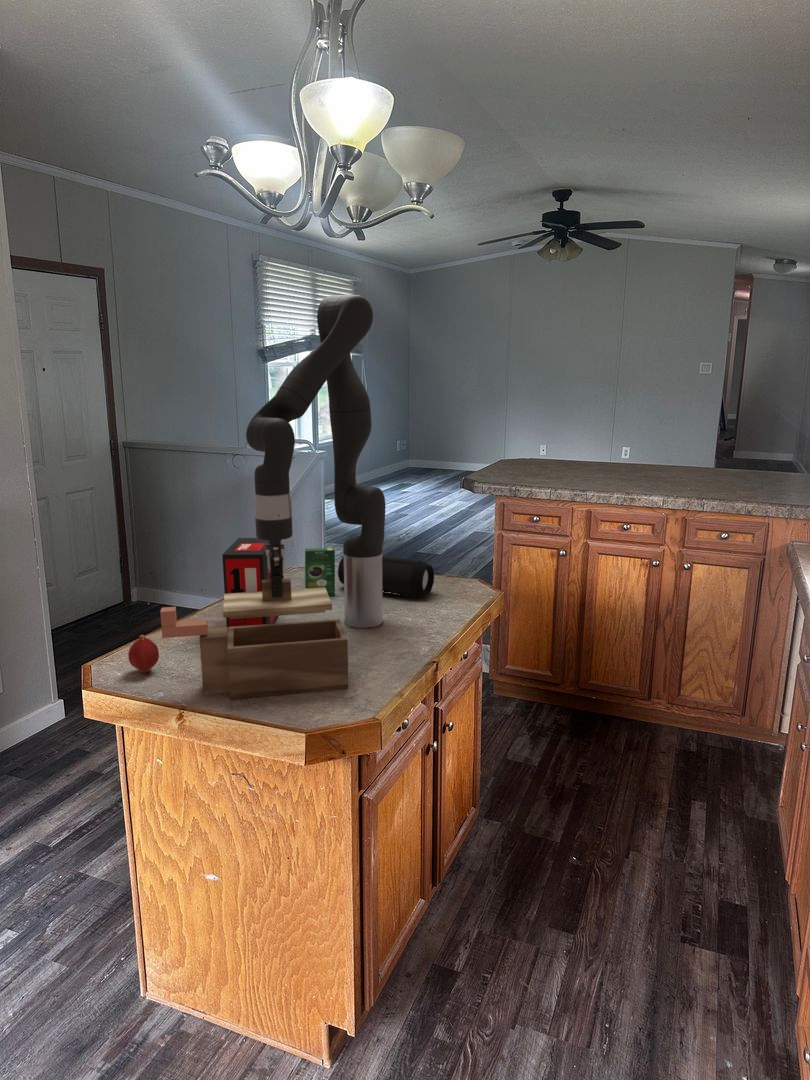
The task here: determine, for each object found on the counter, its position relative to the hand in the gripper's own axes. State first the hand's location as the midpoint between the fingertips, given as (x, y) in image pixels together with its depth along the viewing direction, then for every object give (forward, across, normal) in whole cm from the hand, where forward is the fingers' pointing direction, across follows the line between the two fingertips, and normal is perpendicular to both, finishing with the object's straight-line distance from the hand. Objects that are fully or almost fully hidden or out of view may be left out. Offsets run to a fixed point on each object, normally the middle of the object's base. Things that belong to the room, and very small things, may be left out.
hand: (277, 594), depth 155 cm
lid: (+3, 0, 0) cm, 3 cm away
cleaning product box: (+13, +17, +5) cm, 22 cm away
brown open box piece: (+13, -16, +2) cm, 21 cm away
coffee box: (+13, +39, -13) cm, 43 cm away
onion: (+13, -5, +27) cm, 31 cm away
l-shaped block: (+2, -16, +18) cm, 24 cm away
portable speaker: (+13, +39, -31) cm, 51 cm away
